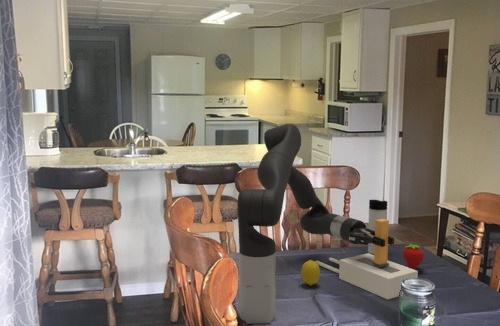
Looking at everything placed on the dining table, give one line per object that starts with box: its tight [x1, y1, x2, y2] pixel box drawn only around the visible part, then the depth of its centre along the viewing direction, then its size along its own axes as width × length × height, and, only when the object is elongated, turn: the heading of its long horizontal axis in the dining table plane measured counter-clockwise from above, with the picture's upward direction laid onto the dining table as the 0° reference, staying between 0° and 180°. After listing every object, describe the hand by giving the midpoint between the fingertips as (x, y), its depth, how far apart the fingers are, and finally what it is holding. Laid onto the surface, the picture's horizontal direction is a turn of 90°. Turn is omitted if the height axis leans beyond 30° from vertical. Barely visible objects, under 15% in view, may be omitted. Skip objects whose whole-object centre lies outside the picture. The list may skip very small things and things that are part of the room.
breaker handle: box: [372, 219, 390, 267], centre depth 157 cm, size 4×3×14 cm
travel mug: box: [367, 199, 388, 255], centre depth 188 cm, size 6×7×20 cm
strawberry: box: [402, 241, 425, 270], centre depth 172 cm, size 6×8×10 cm
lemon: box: [301, 259, 321, 287], centre depth 159 cm, size 6×6×8 cm
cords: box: [314, 257, 340, 274], centre depth 175 cm, size 14×7×1 cm, turn 32°
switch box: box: [338, 252, 419, 301], centre depth 160 cm, size 20×12×6 cm, turn 32°
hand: (388, 242), depth 155 cm, fingers closed on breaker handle, 3 cm apart
